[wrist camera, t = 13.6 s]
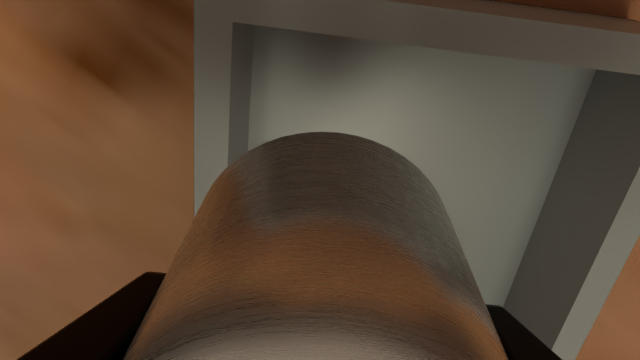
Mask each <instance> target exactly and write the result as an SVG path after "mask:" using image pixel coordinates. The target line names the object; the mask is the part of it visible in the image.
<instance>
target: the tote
mask: <svg viewBox="0 0 640 360" xmlns="http://www.w3.org/2000/svg"><path fill="white" fill-rule="evenodd" d="M308 132H338V133H344V134H350V135H356V136H359V137H363V138H366V139H369V140H373V141H375V142H377V143H380V144H382V145H384V146H387V147H389V148H391V149H392V150H394V151H396V152H397V153H399V154H401V155H402V156H404V157H406V158H407V159H408V160H409V161H410V162H412V163H413V164H414V165H415V166H417V167H418V168H419V169H420V170H421V171H422V172H423V173H424V175H425V176H426V177H427V178H428V179H429V180H430V181H431V183H432V184H433V186H434V187H435V189H436V190H437V192H438V193H439V195H440V197H441V200H442V202H443V204H444V206H445V208H446V210H447V213H448V215H449V218H450V220H451V223H452V225H453V227H454V230H455V232H456V235H457V237H458V239H459V242H460V244H461V247H462V249H463V251H464V254H465V256H466V259H467V261H468V264H469V266H470V268H471V271H472V273H473V276H474V278H475V280H476V283H477V285H478V288H479V290H480V292H481V295H482V297H483V300H484V302H485V304H491V305H499V306H501V307H503V308H504V309H506V310H507V311H508V312H509V313H510V314H511V315H512V316H513V317H515V318H516V319H517V320H518V321H519V322H520V323H521V324H523V325H524V326H525V327H526V328H527V329H528V330H529V331H530V332H532V333H533V334H534V335H535V336H536V337H537V338H538V339H540V340H541V341H542V342H543V343H544V344H545V345H546V346H548V347H549V348H550V349H551V350H552V351H553V352H554V353H555V354H557V355H558V356H559V357H560V358H561V359H562V360H575V358H576V356H577V355H578V353H579V351H580V349H581V347H582V345H583V343H584V341H585V339H586V337H587V335H588V333H589V331H590V330H591V328H592V326H593V324H594V322H595V320H596V318H597V316H598V314H599V312H600V310H601V308H602V306H603V305H604V303H605V301H606V299H607V297H608V295H609V293H610V291H611V289H612V287H613V285H614V283H615V281H616V280H617V278H618V276H619V274H620V272H621V270H622V268H623V266H624V264H625V262H626V260H627V258H628V256H629V255H630V253H631V251H632V249H633V247H634V245H635V243H636V241H637V239H638V237H639V235H640V22H639V21H635V20H631V19H626V18H619V17H611V16H604V15H596V14H589V13H582V12H574V11H567V10H559V9H552V8H544V7H537V6H529V5H522V4H514V3H507V2H499V1H492V0H194V218H195V216H196V214H197V212H198V210H199V208H200V206H201V204H202V202H203V200H204V198H205V196H206V194H207V193H208V191H209V189H210V188H211V186H212V184H213V183H214V181H215V180H216V179H217V178H218V177H219V175H220V174H221V173H222V172H223V171H224V170H225V169H226V168H227V167H228V166H229V165H230V164H231V163H232V162H234V161H235V160H236V159H237V158H239V157H240V156H242V155H243V154H245V153H246V152H248V151H249V150H251V149H253V148H255V147H257V146H259V145H261V144H263V143H266V142H269V141H271V140H274V139H277V138H280V137H284V136H289V135H293V134H298V133H308Z"/></svg>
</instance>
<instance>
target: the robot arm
mask: <svg viewBox="0 0 640 360" xmlns="http://www.w3.org/2000/svg"><path fill="white" fill-rule="evenodd" d="M165 275H166V273H159V272H146V273H144V274H142V275H141V276H139V277H138V278H136V279H135V280H133V281H132V282H130V283H129V284H127V285H126V286H124V287H123V288H121V289H120V290H118V291H117V292H116V293H114V294H113V295H111V296H110V297H108V298H107V299H105V300H104V301H102V302H101V303H99V304H98V305H96V306H95V307H93V308H92V309H91V310H89V311H88V312H86V313H85V314H83V315H82V316H80V317H79V318H77V319H76V320H74V321H73V322H71V323H70V324H68V325H67V326H65V327H64V328H63V329H61V330H60V331H58V332H57V333H55V334H54V335H52V336H51V337H49V338H48V339H46V340H45V341H43V342H42V343H40V344H39V345H38V346H36V347H35V348H33V349H32V350H30V351H29V352H27V353H26V354H24V355H23V356H21V357H20V358H18V359H17V360H123V358H124V356H125V354H126V352H127V351H128V349H129V347H130V345H131V343H132V341H133V339H134V337H135V335H136V333H137V331H138V329H139V327H140V325H141V323H142V321H143V319H144V317H145V315H146V313H147V311H148V309H149V307H150V305H151V303H152V301H153V299H154V297H155V295H156V293H157V291H158V289H159V287H160V285H161V283H162V281H163V279H164V277H165ZM486 307H487V309H488V312H489V314H490V317H491V319H492V321H493V324H494V326H495V329H496V331H497V333H498V336H499V338H500V341H501V343H502V345H503V348H504V350H505V353H506V355H507V358H508V360H562V359H561V358H560V357H559V356H558V355H557V354H555V353H554V352H553V351H552V350H551V349H550V348H549V347H548V346H546V345H545V344H544V343H543V342H542V341H541V340H540V339H538V338H537V337H536V336H535V335H534V334H533V333H532V332H530V331H529V330H528V329H527V328H526V327H525V326H524V325H523V324H521V323H520V322H519V321H518V320H517V319H516V318H515V317H513V316H512V315H511V314H510V313H509V312H508V311H507V310H506V309H504V308H503V307H501V306H499V305H491V304H486Z"/></svg>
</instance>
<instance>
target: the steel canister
mask: <svg viewBox="0 0 640 360" xmlns="http://www.w3.org/2000/svg"><path fill="white" fill-rule="evenodd" d="M123 360H508V358H507V355H506V353H505V350H504V348H503V345H502V343H501V341H500V338H499V336H498V333H497V331H496V329H495V326H494V324H493V321H492V319H491V317H490V314H489V312H488V309H487V307H486V304H485V302H484V300H483V297H482V295H481V292H480V290H479V288H478V285H477V283H476V280H475V278H474V276H473V273H472V271H471V268H470V266H469V264H468V261H467V259H466V256H465V254H464V251H463V249H462V247H461V244H460V242H459V239H458V237H457V235H456V232H455V230H454V227H453V225H452V223H451V220H450V218H449V215H448V213H447V210H446V208H445V206H444V204H443V202H442V200H441V197H440V195H439V193H438V192H437V190H436V189H435V187H434V186H433V184H432V183H431V181H430V180H429V179H428V178H427V177H426V176H425V175H424V173H423V172H422V171H421V170H420V169H419V168H418V167H417V166H415V165H414V164H413V163H412V162H410V161H409V160H408V159H407V158H406V157H404V156H402V155H401V154H399V153H397V152H396V151H394V150H392V149H391V148H389V147H387V146H384V145H382V144H380V143H377V142H375V141H373V140H369V139H366V138H363V137H359V136H356V135H350V134H344V133H338V132H308V133H298V134H293V135H289V136H284V137H280V138H277V139H274V140H271V141H269V142H266V143H263V144H261V145H259V146H257V147H255V148H253V149H251V150H249V151H248V152H246V153H245V154H243V155H242V156H240V157H239V158H237V159H236V160H235V161H234V162H232V163H231V164H230V165H229V166H228V167H227V168H226V169H225V170H224V171H223V172H222V173H221V174H220V175H219V177H218V178H217V179H216V180H215V181H214V183H213V184H212V186H211V188H210V189H209V191H208V193H207V194H206V196H205V198H204V200H203V202H202V204H201V206H200V208H199V210H198V212H197V214H196V216H195V218H194V220H193V222H192V224H191V226H190V228H189V230H188V232H187V234H186V236H185V238H184V240H183V242H182V244H181V246H180V248H179V250H178V251H177V253H176V255H175V257H174V259H173V261H172V263H171V265H170V267H169V269H168V271H167V273H166V275H165V277H164V279H163V281H162V283H161V285H160V287H159V289H158V291H157V293H156V295H155V297H154V299H153V301H152V303H151V305H150V307H149V309H148V311H147V313H146V315H145V317H144V319H143V321H142V323H141V325H140V327H139V329H138V331H137V333H136V335H135V337H134V339H133V341H132V343H131V345H130V347H129V349H128V351H127V352H126V354H125V356H124V358H123Z"/></svg>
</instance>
